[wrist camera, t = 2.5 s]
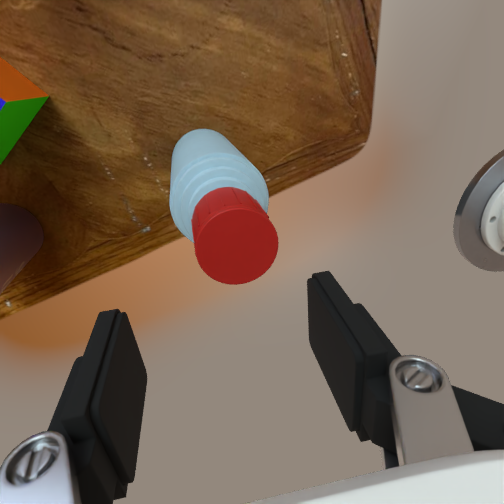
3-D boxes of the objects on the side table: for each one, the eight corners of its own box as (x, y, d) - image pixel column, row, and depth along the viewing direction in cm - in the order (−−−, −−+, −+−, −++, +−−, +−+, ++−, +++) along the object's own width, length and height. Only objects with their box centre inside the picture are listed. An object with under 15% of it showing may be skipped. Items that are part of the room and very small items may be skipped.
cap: (259, 182, 19) (278, 202, 15) (262, 247, 20) (280, 279, 17) (187, 190, 18) (189, 212, 15) (196, 256, 20) (200, 290, 16)
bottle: (233, 126, 34) (301, 170, 15) (238, 190, 36) (299, 291, 18) (167, 131, 33) (156, 185, 14) (176, 196, 35) (178, 310, 17)
